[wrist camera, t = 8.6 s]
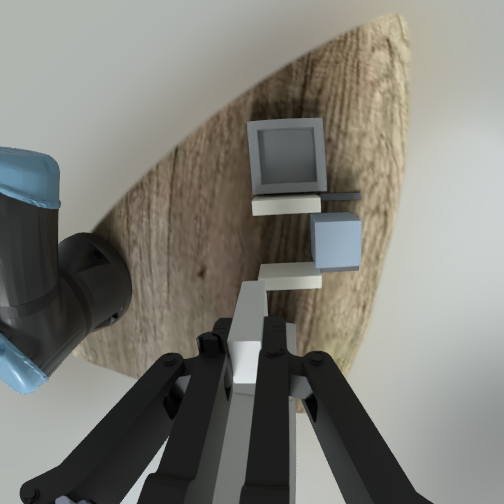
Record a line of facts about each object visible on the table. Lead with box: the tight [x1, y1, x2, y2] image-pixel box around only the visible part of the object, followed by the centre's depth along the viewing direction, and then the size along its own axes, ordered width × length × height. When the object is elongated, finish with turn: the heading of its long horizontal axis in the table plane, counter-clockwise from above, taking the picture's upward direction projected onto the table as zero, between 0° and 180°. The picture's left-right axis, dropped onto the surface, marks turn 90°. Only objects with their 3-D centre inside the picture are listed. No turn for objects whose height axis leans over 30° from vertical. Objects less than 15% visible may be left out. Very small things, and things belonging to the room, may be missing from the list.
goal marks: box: [319, 193, 361, 273], centre depth 33 cm, size 5×10×1 cm, turn 5°
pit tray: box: [247, 118, 327, 195], centre depth 29 cm, size 8×8×3 cm
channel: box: [252, 193, 322, 290], centre depth 32 cm, size 7×10×4 cm
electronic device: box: [212, 323, 296, 504], centre depth 25 cm, size 12×8×30 cm, turn 173°
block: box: [310, 212, 362, 268], centre depth 31 cm, size 5×5×5 cm
